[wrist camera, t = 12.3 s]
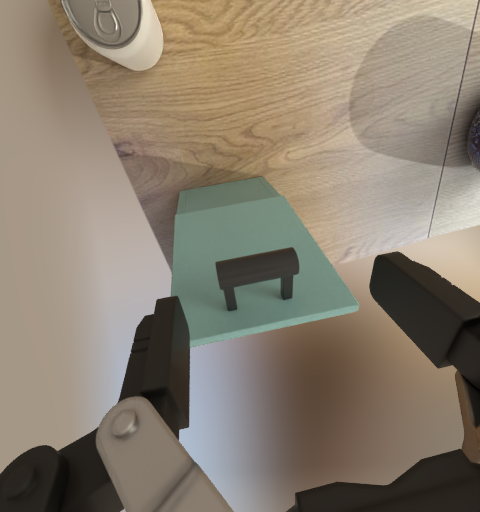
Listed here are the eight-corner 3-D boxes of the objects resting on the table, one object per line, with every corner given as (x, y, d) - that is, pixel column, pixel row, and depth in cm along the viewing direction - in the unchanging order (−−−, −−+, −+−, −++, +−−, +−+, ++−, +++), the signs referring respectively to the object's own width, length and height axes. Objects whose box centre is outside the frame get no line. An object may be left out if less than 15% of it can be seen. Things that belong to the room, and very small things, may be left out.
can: (112, 71, 29) (70, 56, 19) (94, -6, 26) (31, -74, 16) (168, 71, 30) (156, 56, 20) (158, -4, 27) (137, -68, 17)
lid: (357, 311, 17) (375, 257, 14) (171, 352, 16) (145, 304, 13) (283, 201, 30) (284, 159, 27) (176, 220, 29) (163, 180, 26)
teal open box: (269, 261, 47) (285, 295, 39) (201, 274, 46) (203, 312, 38) (263, 176, 39) (282, 196, 30) (179, 190, 38) (175, 216, 29)
